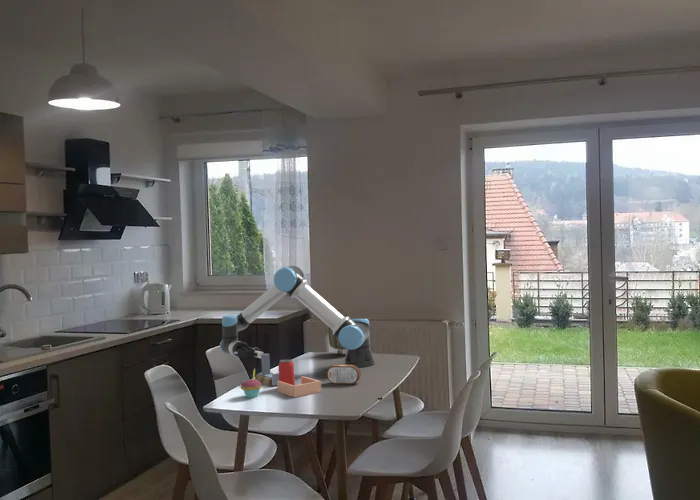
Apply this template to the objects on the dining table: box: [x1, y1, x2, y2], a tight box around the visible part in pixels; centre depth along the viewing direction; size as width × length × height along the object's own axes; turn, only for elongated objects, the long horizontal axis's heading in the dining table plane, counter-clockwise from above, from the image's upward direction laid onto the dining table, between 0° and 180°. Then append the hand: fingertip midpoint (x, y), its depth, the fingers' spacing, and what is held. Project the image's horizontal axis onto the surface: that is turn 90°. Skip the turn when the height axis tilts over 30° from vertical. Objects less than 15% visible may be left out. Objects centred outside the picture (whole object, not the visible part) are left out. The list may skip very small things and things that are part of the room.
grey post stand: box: [257, 353, 279, 386], centre depth 287 cm, size 16×6×12 cm, turn 36°
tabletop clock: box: [328, 308, 348, 356], centre depth 349 cm, size 14×9×25 cm, turn 52°
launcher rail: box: [254, 372, 275, 387], centre depth 288 cm, size 14×7×3 cm, turn 36°
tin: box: [326, 363, 362, 385], centre depth 279 cm, size 15×3×8 cm, turn 74°
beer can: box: [278, 358, 296, 386], centre depth 276 cm, size 7×7×12 cm
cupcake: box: [240, 367, 263, 399], centre depth 263 cm, size 9×8×12 cm
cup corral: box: [276, 375, 322, 398], centre depth 268 cm, size 14×13×4 cm
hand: (262, 355), depth 293 cm, fingers closed
